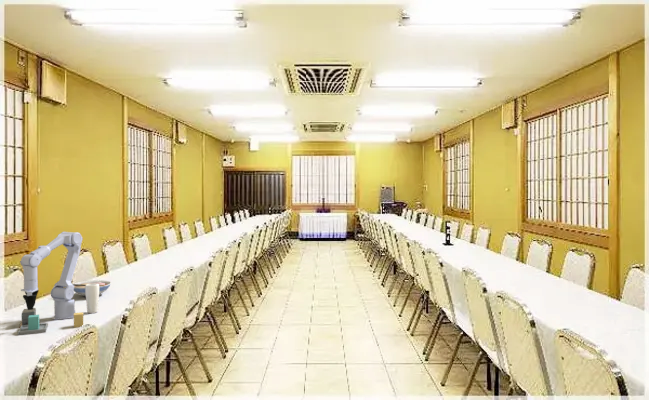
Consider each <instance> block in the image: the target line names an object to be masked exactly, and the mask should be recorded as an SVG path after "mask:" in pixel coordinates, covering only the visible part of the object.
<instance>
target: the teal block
mask: <svg viewBox="0 0 649 400" xmlns="http://www.w3.org/2000/svg"><path fill="white" fill-rule="evenodd" d="M39 324H40V314H36V315H29V317H28V330H37V329H39Z"/></svg>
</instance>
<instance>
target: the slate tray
mask: <svg viewBox="0 0 649 400" xmlns="http://www.w3.org/2000/svg"><path fill="white" fill-rule="evenodd" d="M48 327H49V323H48V322H43V323H39V329H37V330H28V325H22V326H21V327H20V328H19V329H18V331H17V336H23V335H33V334H41V333H46V332H47V331H48Z"/></svg>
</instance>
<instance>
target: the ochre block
mask: <svg viewBox="0 0 649 400" xmlns="http://www.w3.org/2000/svg"><path fill="white" fill-rule="evenodd" d="M82 325H83V326H84V312H75V313H74V318H73V328H81V327H80V326H82Z"/></svg>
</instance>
